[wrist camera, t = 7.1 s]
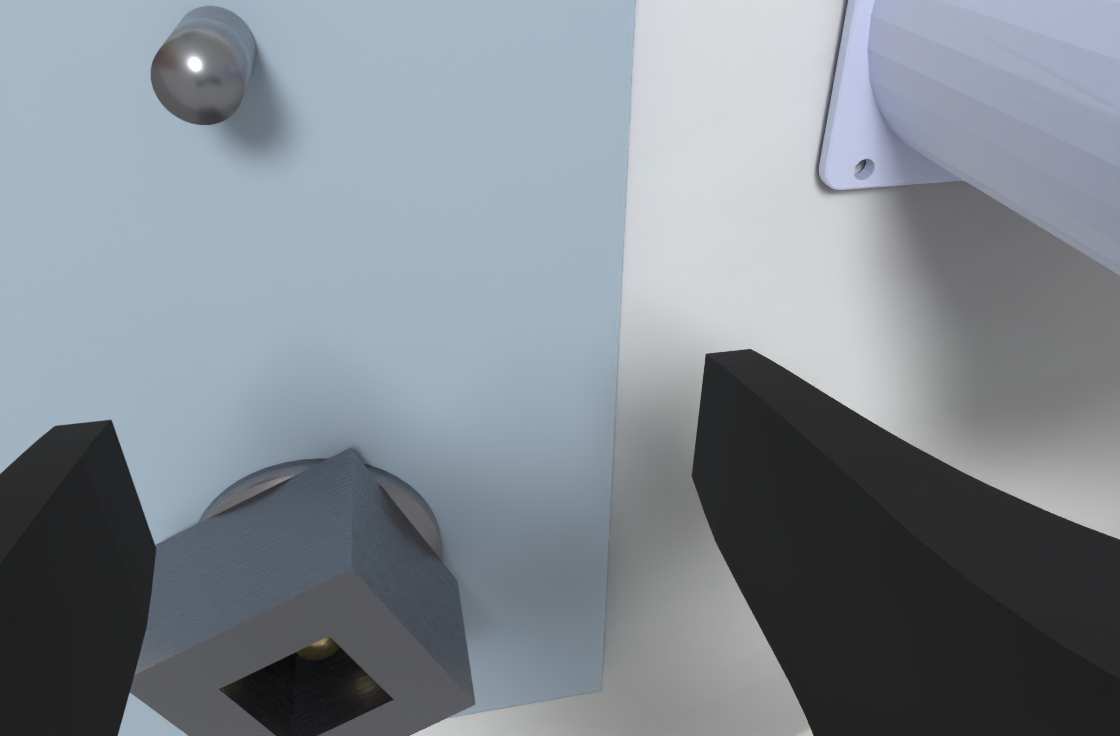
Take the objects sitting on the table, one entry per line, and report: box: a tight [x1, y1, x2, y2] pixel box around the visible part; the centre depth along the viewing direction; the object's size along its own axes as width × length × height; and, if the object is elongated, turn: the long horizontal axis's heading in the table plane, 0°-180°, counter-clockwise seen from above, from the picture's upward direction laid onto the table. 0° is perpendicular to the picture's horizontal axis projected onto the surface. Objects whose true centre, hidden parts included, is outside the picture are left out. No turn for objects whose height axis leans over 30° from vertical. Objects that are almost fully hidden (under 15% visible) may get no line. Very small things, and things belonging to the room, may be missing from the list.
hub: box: [197, 458, 442, 660], centre depth 22 cm, size 6×6×3 cm
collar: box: [130, 448, 476, 736], centre depth 21 cm, size 6×6×4 cm
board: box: [0, 0, 636, 736], centre depth 21 cm, size 16×26×1 cm, turn 1°
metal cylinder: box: [150, 6, 257, 125], centre depth 15 cm, size 1×1×2 cm
